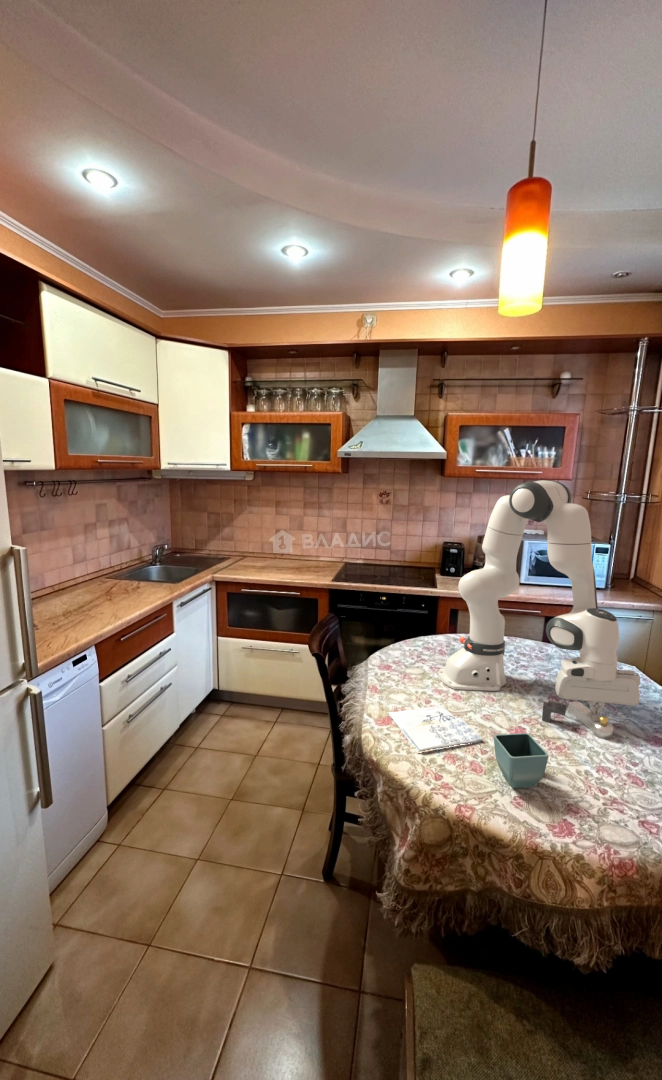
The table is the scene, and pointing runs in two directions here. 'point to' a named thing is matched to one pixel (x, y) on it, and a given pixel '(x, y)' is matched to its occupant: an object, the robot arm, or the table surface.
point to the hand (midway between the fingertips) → (594, 715)
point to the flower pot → (520, 759)
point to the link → (590, 720)
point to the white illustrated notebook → (434, 728)
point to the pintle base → (562, 712)
